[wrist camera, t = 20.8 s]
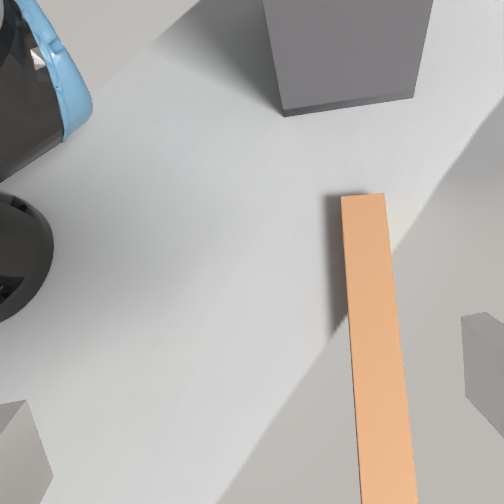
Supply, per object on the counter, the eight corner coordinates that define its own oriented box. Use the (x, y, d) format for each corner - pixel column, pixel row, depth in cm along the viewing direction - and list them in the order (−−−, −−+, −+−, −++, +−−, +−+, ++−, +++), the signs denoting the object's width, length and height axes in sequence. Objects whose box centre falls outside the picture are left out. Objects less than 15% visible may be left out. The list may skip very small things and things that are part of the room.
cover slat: (416, 532, 35) (422, 540, 32) (362, 529, 35) (364, 537, 33) (381, 207, 45) (384, 193, 42) (340, 210, 46) (340, 196, 43)
